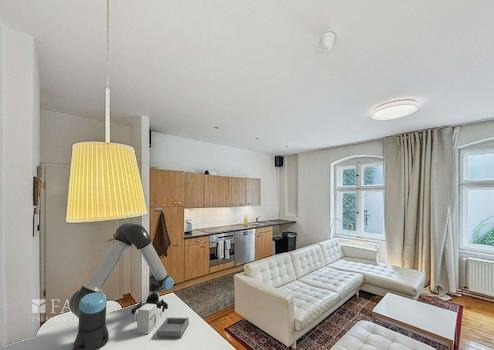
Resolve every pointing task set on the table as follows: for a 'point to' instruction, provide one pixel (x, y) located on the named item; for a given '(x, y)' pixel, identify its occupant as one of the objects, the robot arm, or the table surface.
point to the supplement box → (146, 318)
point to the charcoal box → (173, 328)
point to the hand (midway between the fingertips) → (148, 315)
